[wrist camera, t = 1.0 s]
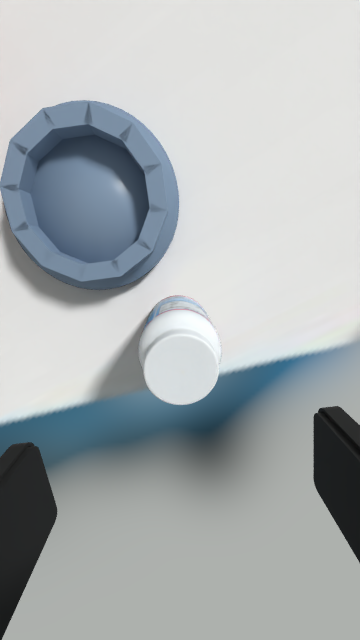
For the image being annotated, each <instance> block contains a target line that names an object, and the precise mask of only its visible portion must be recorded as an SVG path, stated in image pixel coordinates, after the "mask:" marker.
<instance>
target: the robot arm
mask: <svg viewBox="0 0 360 640" xmlns="http://www.w3.org/2000/svg"><path fill="white" fill-rule="evenodd" d="M314 483H315V486H316V489H317V491H318V493H319V495H320V496H321V498H322V499H323V501H324V503H325V505H326V507H327V508H328V510H329V512H330V513H331V515H332V517H333V518H334V520H335V522H336V523H337V525H338V526H339V528H340V530H341V532H342V533H343V535H344V537H345V539H346V540H347V542H348V544H349V545H350V547H351V549H352V550H353V552H354V554H355V555H356V557H357V559H358V560H359V562H360V425H358V423H357V422H355V421H354V420H353V419H352V418H351V417H350V416H349V415H348V414H347V413H346V412H345V411H344V410H343V409H342V408H340V407H338V406H335V407H326V408H320V409H319V411H318V413H316V414H315V415H314ZM56 517H57V507H56V503H55V500H54V496H53V493H52V490H51V487H50V483H49V480H48V477H47V474H46V470H45V467H44V464H43V460H42V457H41V454H40V451H39V448H38V447H36V446H34V444H33V443H30V442H28V443H19V444H13V445H11V446H10V447H9V448H8V449H7V450H6V452H5V453H4V454H3V455H2V456H1V457H0V640H2V637H3V635H4V633H5V631H6V629H7V626H8V624H9V622H10V620H11V618H12V615H13V613H14V611H15V609H16V607H17V604H18V602H19V600H20V598H21V596H22V593H23V591H24V589H25V587H26V584H27V582H28V580H29V578H30V576H31V574H32V571H33V569H34V567H35V565H36V563H37V560H38V558H39V556H40V554H41V551H42V549H43V547H44V545H45V543H46V540H47V538H48V536H49V534H50V531H51V529H52V527H53V525H54V523H55V520H56Z"/></svg>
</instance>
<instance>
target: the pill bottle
mask: <svg viewBox="0 0 360 640" xmlns="http://www.w3.org/2000/svg"><path fill="white" fill-rule="evenodd" d="M138 353H139V360H140V364H141V366H142V369H143V374H144V379H145V382H146V384H147V386H148V388H149V389H150V391H151V392H152V393H153V394H154V395H155V396H156V397H157V398H159V399H161V400H162V401H164V402H167V403H170V404H175V405H186V404H191V403H194V402H197V401H199V400H201V399H202V398H204V397H205V396H206V395H207V394H208V393H209V392H210V391H211V390H212V389H213V387H214V385H215V383H216V381H217V378H218V374H219V364H220V360H221V354H222V349H221V342H220V338H219V335H218V333H217V331H216V329H215V327H214V326H213V324H212V322H211V320H210V318H209V317H208V315H207V313H206V312H205V310H204V309H203V307H202V306H201V305H200V304H199V303H198V302H196V301H195V300H193V299H192V298H189V297H186V296H181V295H175V296H170V297H167V298H165V299H163V300H161V301H160V302H159V303H157V304H156V305H155V307H154V308H153V309H152V311H151V313H150V315H149V318H148V320H147V322H146V325H145V327H144V330H143V332H142V335H141V338H140V342H139V349H138Z"/></svg>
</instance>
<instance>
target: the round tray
mask: <svg viewBox="0 0 360 640" xmlns="http://www.w3.org/2000/svg"><path fill="white" fill-rule="evenodd" d="M0 190H1V194H2V197H3V201H4V205H5V210H6V215H7V218H8V221H9V223H10V227H11V230H12V232H13V234H14V235H15V237H16V239H17V240H18V242H19V244H20V245H21V247H22V248H23V250H24V251H25V252H26V253H27V255H28V256H29V257H30V258H31V259H32V260H33V261H34V262H35V263H36V264H37V265H38V266H39V267H40V268H42V269H43V270H44V271H45V272H47V273H48V274H50V275H51V276H53V277H54V278H56V279H58V280H60V281H62V282H64V283H67V284H70V285H73V286H76V287H80V288H85V289H95V290H102V289H111V288H116V287H120V286H123V285H126V284H129V283H131V282H133V281H135V280H137V279H139V278H140V277H142V276H143V275H145V274H146V273H148V272H149V271H150V270H151V269H152V268H153V267H154V266H156V264H157V263H158V262H159V261H160V260H161V258H162V257H163V256H164V254H165V253H166V251H167V249H168V248H169V246H170V243H171V241H172V239H173V236H174V233H175V230H176V226H177V221H178V211H179V195H178V187H177V181H176V177H175V174H174V170H173V167H172V165H171V162H170V160H169V158H168V156H167V154H166V152H165V150H164V149H163V147H162V145H161V144H160V142H159V141H158V140H157V138H156V137H155V136H154V135H153V133H152V132H151V131H150V130H149V129H148V128H147V127H146V126H145V125H144V124H143V123H141V122H140V121H139V120H137V119H136V118H135V117H133V116H132V115H130V114H129V113H127V112H125V111H123V110H122V109H119V108H117V107H114V106H112V105H109V104H105V103H101V102H97V101H85V100H83V101H71V102H66V103H62V104H58V105H56V106H53V107H47V108H42V109H41V110H40V111H39V112H38V113H37V114H36V115H35V116H34V117H33V118H32V119H31V120H30V121H29V122H28V123H27V124H26V125H25V126H24V127H23V128H22V129H21V130H20V131H19V132H18V133H17V134H16V135H15V136H14V137H13V138H12V139H11V140H10V142H9V147H8V151H7V155H6V160H5V164H4V168H3V173H2V177H1V181H0Z"/></svg>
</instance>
